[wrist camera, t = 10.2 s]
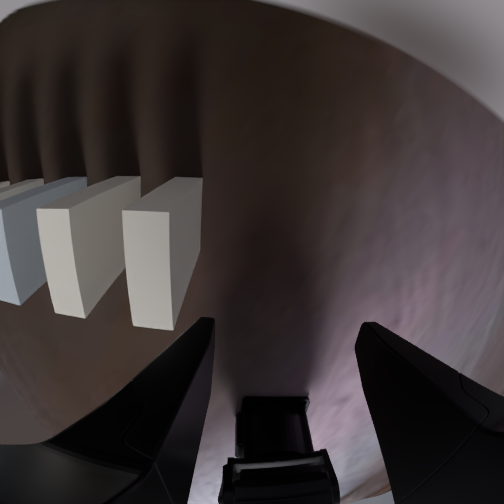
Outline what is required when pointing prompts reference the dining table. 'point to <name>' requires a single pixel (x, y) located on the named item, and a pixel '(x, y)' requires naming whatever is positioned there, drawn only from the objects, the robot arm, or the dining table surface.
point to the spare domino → (26, 238)
